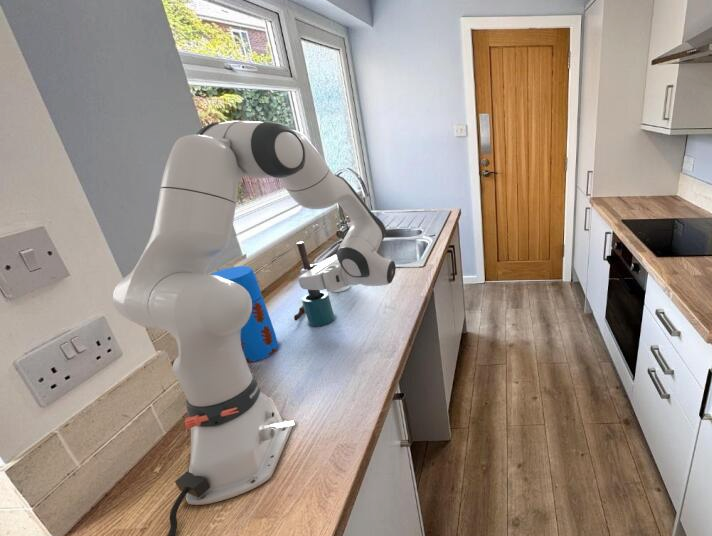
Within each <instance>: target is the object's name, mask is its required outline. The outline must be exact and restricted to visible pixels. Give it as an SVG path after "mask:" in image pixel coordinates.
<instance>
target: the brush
mask: <svg viewBox="0 0 712 536" xmlns="http://www.w3.org/2000/svg"><path fill="white" fill-rule="evenodd" d="M296 247H297V250H298V253H299V254H298V255H299V257H300V260H301V265H302V267H303V269H304V268H308V270H311V266H310V264H311V263H310V260H309V256H308V253H307V249H306V245H305V242H304V241H298V242H296ZM320 291H321V290H307V294H309V296H310V300H316V299H319V298H322V296H321V293H320Z"/></svg>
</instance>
